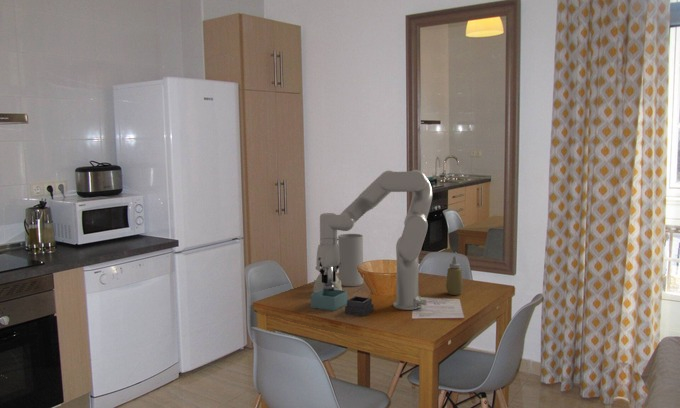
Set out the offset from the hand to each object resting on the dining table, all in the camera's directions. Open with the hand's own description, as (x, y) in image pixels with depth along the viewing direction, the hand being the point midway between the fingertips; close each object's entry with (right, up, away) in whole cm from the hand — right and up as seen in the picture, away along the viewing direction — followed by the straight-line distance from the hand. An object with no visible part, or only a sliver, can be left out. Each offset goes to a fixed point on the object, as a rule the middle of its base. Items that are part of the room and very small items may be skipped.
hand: (328, 281), depth 248 cm
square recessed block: (+13, -12, -8) cm, 20 cm away
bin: (0, -11, +1) cm, 11 cm away
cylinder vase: (+11, -7, +40) cm, 42 cm away
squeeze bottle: (+59, -9, +18) cm, 63 cm away
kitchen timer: (-1, -9, +21) cm, 23 cm away
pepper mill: (0, -4, 0) cm, 4 cm away
